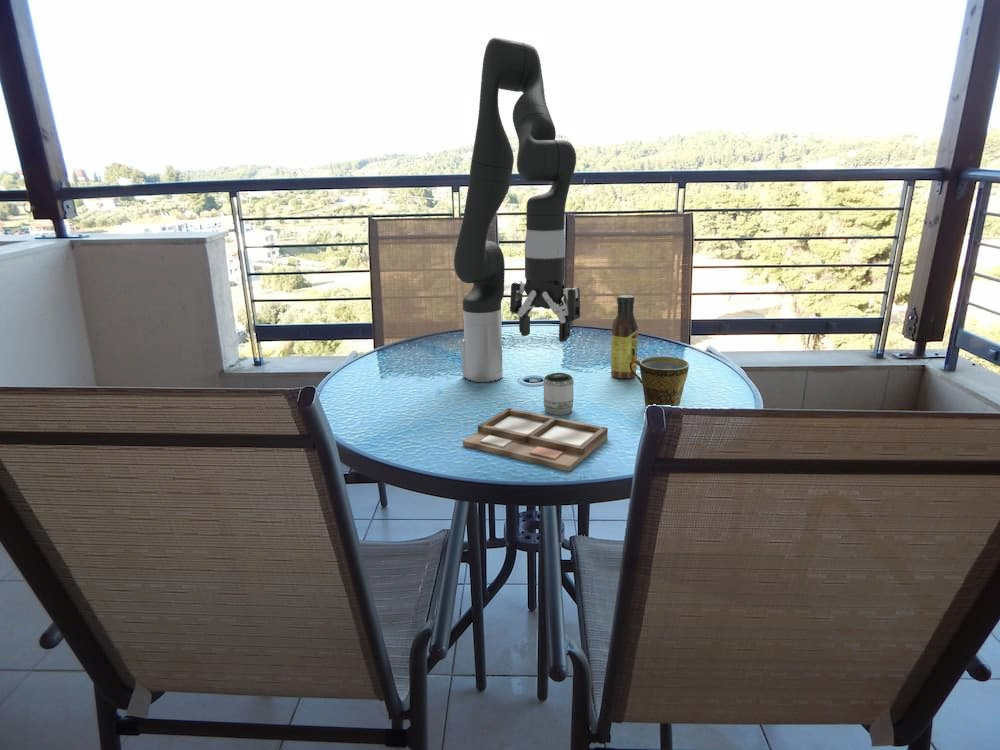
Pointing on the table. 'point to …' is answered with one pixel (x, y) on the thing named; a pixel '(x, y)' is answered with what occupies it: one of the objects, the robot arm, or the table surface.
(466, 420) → the table surface
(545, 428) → the board
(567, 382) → the camera lens
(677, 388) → the ceramic cup
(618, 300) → the sauce bottle
